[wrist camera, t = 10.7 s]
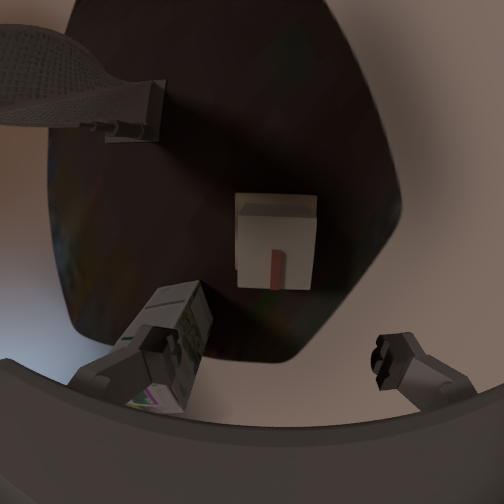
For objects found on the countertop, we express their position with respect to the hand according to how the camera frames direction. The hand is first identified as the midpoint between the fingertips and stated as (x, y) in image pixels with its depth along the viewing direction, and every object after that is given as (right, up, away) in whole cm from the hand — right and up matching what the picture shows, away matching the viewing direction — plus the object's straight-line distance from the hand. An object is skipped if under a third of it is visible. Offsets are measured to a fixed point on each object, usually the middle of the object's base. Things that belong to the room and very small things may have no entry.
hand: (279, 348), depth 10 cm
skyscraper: (-14, +20, +14) cm, 28 cm away
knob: (+1, +6, +17) cm, 18 cm away
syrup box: (-9, -2, +21) cm, 23 cm away
